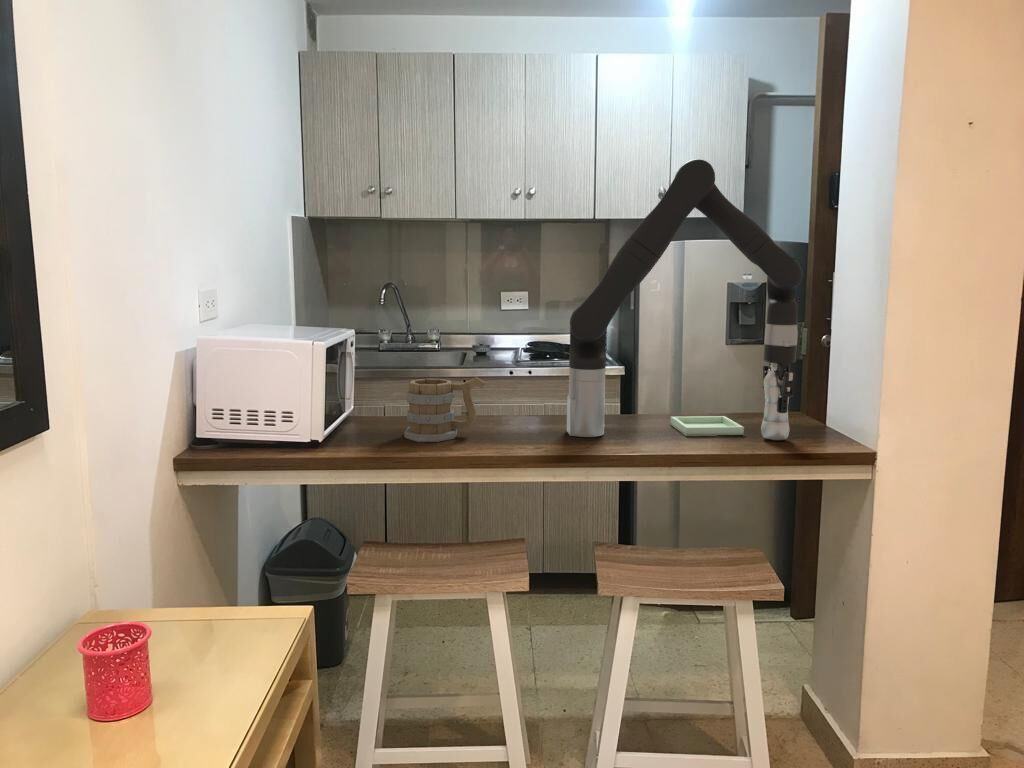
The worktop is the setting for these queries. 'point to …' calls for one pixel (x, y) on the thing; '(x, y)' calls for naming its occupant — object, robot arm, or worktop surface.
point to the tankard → (437, 409)
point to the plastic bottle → (773, 410)
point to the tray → (706, 426)
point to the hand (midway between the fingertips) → (776, 409)
